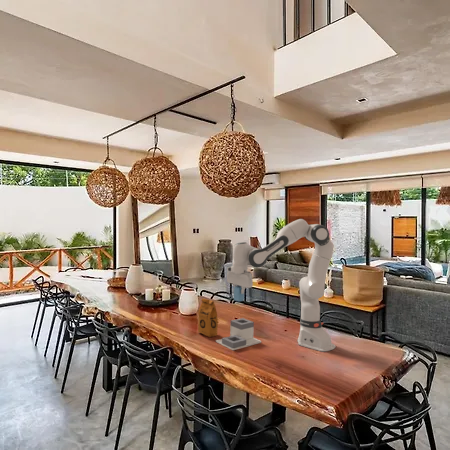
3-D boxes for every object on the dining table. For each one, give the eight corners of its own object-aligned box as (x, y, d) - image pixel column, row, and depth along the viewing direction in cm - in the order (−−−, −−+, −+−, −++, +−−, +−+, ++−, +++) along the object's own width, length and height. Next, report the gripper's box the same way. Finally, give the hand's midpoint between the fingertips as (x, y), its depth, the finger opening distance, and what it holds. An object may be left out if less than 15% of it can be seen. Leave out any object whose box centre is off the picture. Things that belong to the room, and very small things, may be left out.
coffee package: (207, 338, 209) (208, 302, 209) (195, 333, 219) (196, 298, 219) (220, 335, 216) (220, 300, 216) (208, 330, 225) (209, 296, 225)
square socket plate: (261, 342, 205) (261, 324, 205) (232, 350, 191) (233, 330, 191) (243, 335, 217) (244, 317, 217) (215, 341, 204) (216, 323, 204)
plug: (243, 300, 204) (244, 285, 204) (238, 301, 201) (238, 286, 201) (239, 299, 207) (239, 284, 207) (233, 300, 204) (234, 285, 204)
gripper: (255, 271, 197) (254, 295, 198) (233, 267, 214) (232, 289, 214) (247, 272, 194) (246, 296, 194) (225, 267, 210) (224, 290, 210)
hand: (239, 292), depth 204 cm, fingers closed on plug, 4 cm apart
